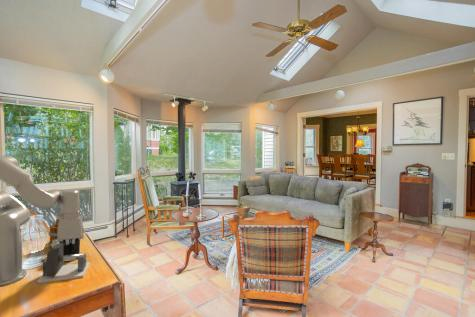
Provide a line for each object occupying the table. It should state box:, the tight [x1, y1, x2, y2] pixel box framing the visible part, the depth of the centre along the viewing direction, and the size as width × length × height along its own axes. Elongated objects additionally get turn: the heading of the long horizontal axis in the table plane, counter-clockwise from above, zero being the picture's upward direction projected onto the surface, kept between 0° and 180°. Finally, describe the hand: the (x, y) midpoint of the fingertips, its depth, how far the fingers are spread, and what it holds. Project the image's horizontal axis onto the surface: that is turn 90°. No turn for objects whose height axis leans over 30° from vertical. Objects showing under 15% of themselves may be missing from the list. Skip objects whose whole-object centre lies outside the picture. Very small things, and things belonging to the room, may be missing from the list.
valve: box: [50, 238, 59, 250], centre depth 136 cm, size 7×7×12 cm
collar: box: [46, 243, 64, 277], centre depth 113 cm, size 3×11×11 cm, turn 20°
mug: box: [48, 218, 60, 250], centre depth 147 cm, size 11×16×15 cm, turn 44°
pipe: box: [42, 252, 87, 276], centre depth 115 cm, size 16×5×8 cm, turn 110°
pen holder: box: [59, 239, 81, 263], centre depth 130 cm, size 9×9×10 cm
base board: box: [36, 261, 91, 284], centre depth 115 cm, size 18×13×1 cm
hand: (71, 251), depth 117 cm, fingers closed
